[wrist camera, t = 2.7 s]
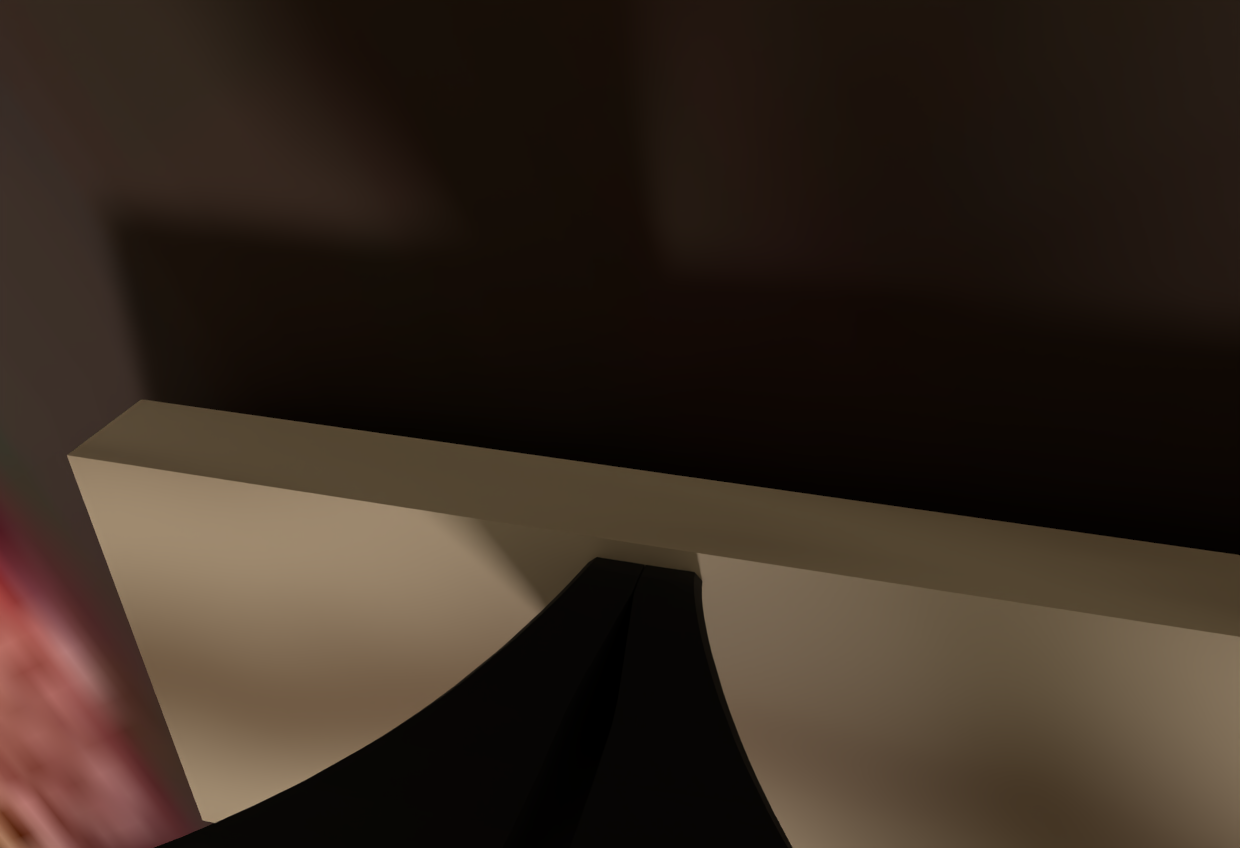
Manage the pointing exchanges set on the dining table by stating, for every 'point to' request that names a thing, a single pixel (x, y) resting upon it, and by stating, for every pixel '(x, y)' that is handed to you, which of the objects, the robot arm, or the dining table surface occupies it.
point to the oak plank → (734, 616)
